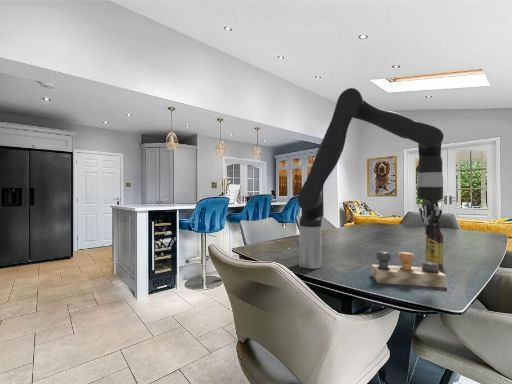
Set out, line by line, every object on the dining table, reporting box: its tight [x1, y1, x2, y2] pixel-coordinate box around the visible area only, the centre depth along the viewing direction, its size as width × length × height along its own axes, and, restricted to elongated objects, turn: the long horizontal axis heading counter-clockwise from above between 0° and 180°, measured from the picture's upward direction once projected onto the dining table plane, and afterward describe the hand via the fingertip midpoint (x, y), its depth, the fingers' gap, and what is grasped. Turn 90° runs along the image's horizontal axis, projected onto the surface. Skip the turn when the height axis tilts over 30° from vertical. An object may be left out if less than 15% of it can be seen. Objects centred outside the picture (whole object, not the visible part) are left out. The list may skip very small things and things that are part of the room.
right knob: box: [421, 261, 440, 273], centre depth 90 cm, size 5×5×6 cm
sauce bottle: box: [425, 219, 444, 268], centre depth 111 cm, size 6×6×20 cm
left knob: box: [375, 250, 392, 270], centre depth 93 cm, size 5×5×6 cm
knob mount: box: [371, 264, 447, 289], centre depth 91 cm, size 21×9×4 cm, turn 77°
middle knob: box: [398, 251, 415, 271], centre depth 92 cm, size 5×5×6 cm
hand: (429, 235), depth 90 cm, fingers closed
